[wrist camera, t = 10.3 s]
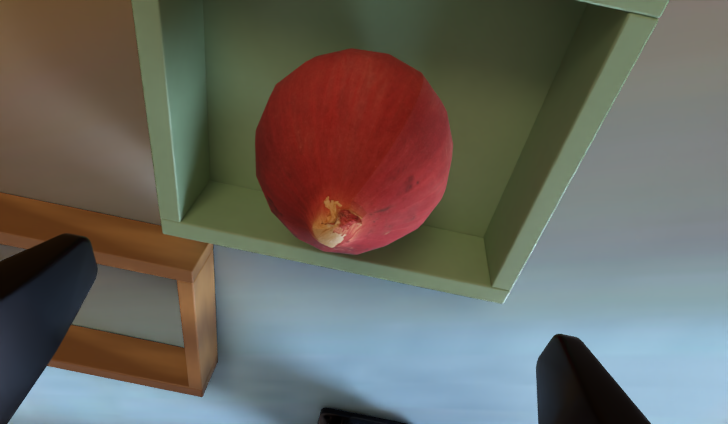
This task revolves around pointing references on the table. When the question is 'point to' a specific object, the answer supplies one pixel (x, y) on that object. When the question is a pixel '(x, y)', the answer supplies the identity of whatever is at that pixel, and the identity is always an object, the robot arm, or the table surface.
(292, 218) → the onion
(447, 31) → the green bin
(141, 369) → the oak frame
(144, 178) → the table surface
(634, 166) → the table surface
